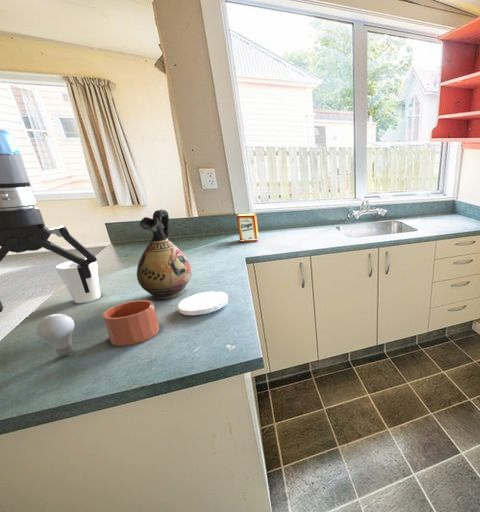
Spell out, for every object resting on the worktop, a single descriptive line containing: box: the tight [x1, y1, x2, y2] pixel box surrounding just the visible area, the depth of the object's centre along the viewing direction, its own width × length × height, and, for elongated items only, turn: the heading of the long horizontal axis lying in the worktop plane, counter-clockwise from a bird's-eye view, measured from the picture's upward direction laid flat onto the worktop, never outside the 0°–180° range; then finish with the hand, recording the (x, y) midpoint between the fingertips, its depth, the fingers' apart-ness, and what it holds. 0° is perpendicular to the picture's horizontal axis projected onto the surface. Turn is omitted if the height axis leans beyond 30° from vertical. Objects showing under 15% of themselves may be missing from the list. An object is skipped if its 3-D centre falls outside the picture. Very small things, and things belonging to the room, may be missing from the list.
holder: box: [102, 299, 160, 347], centre depth 80 cm, size 10×10×8 cm
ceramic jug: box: [136, 209, 193, 301], centre depth 102 cm, size 17×15×30 cm
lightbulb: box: [35, 313, 75, 357], centre depth 71 cm, size 6×6×11 cm
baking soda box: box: [236, 213, 260, 243], centre depth 175 cm, size 10×6×16 cm
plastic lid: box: [177, 291, 229, 316], centre depth 97 cm, size 14×14×2 cm
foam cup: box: [55, 260, 101, 304], centre depth 100 cm, size 10×9×13 cm
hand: (46, 300), depth 68 cm, fingers open, 13 cm apart
